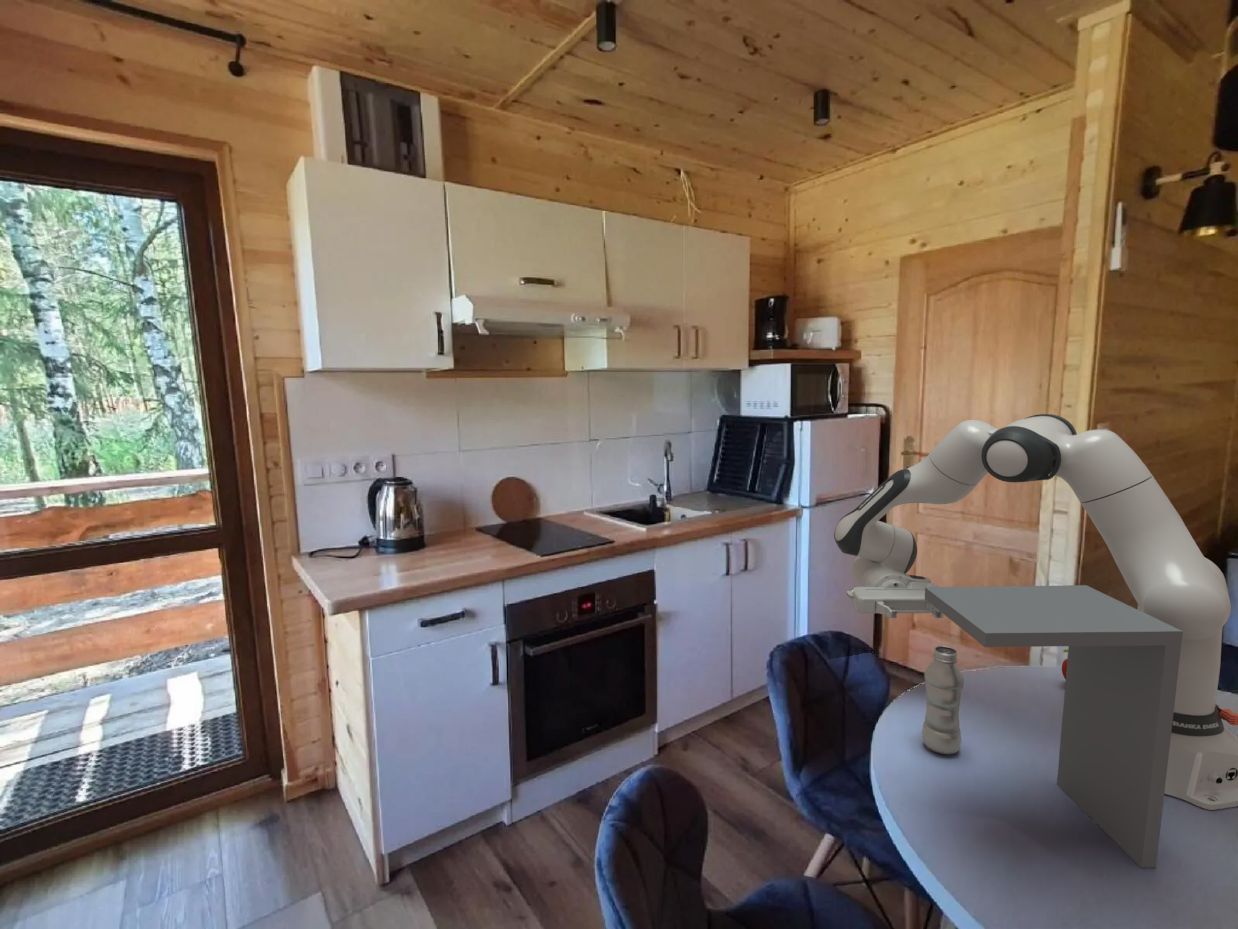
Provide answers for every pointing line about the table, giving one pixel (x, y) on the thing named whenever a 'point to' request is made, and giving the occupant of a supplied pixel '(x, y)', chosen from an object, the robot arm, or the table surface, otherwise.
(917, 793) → the table surface
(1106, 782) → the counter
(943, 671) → the plastic bottle
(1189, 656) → the robot arm
